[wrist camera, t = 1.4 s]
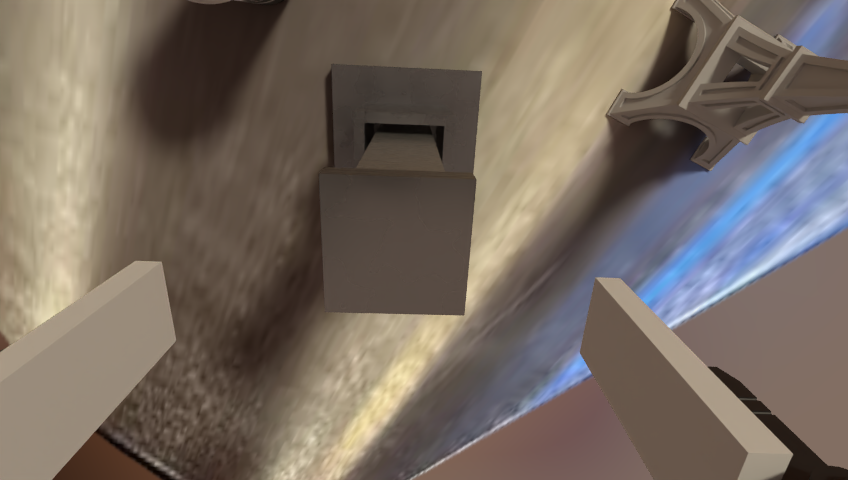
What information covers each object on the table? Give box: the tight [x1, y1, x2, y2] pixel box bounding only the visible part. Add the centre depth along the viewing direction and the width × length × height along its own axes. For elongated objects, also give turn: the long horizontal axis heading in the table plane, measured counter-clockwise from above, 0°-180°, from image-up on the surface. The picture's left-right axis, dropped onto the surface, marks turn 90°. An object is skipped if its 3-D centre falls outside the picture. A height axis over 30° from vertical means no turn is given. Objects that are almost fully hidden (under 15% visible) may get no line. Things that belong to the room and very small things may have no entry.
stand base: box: [331, 64, 482, 173], centre depth 39 cm, size 14×14×12 cm
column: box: [319, 123, 476, 315], centre depth 30 cm, size 6×6×27 cm
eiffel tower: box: [607, 0, 848, 171], centre depth 29 cm, size 13×13×30 cm
